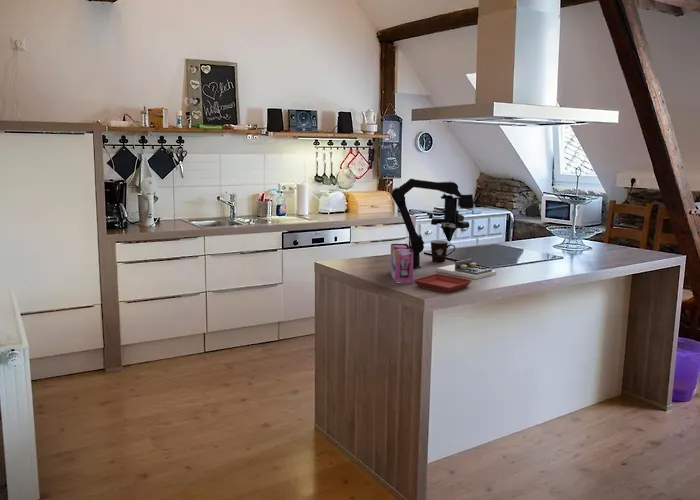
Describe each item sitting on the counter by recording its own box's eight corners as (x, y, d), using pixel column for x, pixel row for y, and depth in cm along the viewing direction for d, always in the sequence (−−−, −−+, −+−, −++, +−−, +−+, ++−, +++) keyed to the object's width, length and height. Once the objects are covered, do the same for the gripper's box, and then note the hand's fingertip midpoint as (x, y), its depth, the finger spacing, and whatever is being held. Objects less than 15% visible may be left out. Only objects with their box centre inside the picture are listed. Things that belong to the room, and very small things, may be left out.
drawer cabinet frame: (476, 274, 278) (476, 265, 278) (454, 270, 287) (455, 261, 286) (492, 271, 286) (492, 262, 286) (470, 266, 295) (470, 258, 294)
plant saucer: (472, 287, 263) (472, 279, 263) (448, 295, 250) (449, 287, 249) (436, 280, 275) (436, 273, 274) (412, 287, 262) (412, 279, 261)
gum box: (413, 284, 266) (414, 252, 264) (395, 284, 266) (395, 252, 263) (406, 272, 289) (407, 243, 287) (389, 272, 289) (390, 243, 287)
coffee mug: (427, 262, 314) (428, 242, 312) (433, 259, 321) (434, 239, 320) (449, 264, 309) (450, 244, 307) (455, 261, 316) (456, 241, 314)
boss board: (475, 279, 277) (475, 270, 276) (436, 271, 292) (436, 262, 292) (496, 274, 287) (496, 265, 287) (457, 266, 303) (457, 258, 302)
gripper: (477, 209, 293) (475, 241, 296) (445, 205, 307) (444, 237, 310) (462, 210, 286) (461, 244, 289) (430, 207, 299) (429, 239, 302)
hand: (449, 241), depth 297 cm, fingers closed
